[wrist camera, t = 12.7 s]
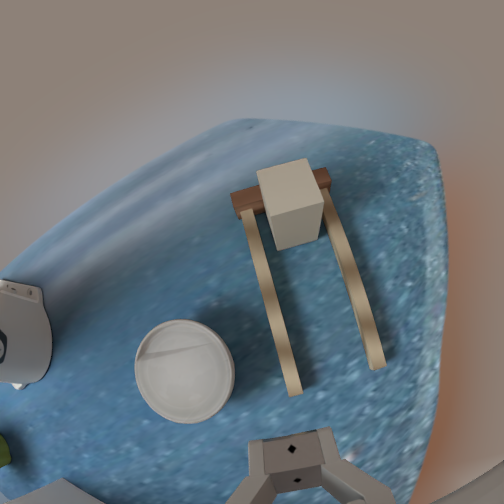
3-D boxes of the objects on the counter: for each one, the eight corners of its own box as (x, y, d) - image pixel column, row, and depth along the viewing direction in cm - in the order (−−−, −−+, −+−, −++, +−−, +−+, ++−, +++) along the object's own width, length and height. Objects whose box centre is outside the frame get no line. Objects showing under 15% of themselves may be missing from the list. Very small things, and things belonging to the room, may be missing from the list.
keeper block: (317, 239, 35) (324, 201, 26) (277, 251, 36) (270, 216, 26) (304, 203, 37) (306, 157, 28) (266, 214, 37) (256, 171, 28)
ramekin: (194, 304, 36) (178, 297, 31) (263, 367, 32) (257, 372, 27) (138, 366, 34) (116, 368, 29) (200, 430, 31) (184, 443, 26)
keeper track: (385, 363, 30) (394, 364, 27) (285, 395, 31) (284, 400, 27) (323, 181, 38) (325, 167, 35) (235, 206, 39) (229, 193, 35)
